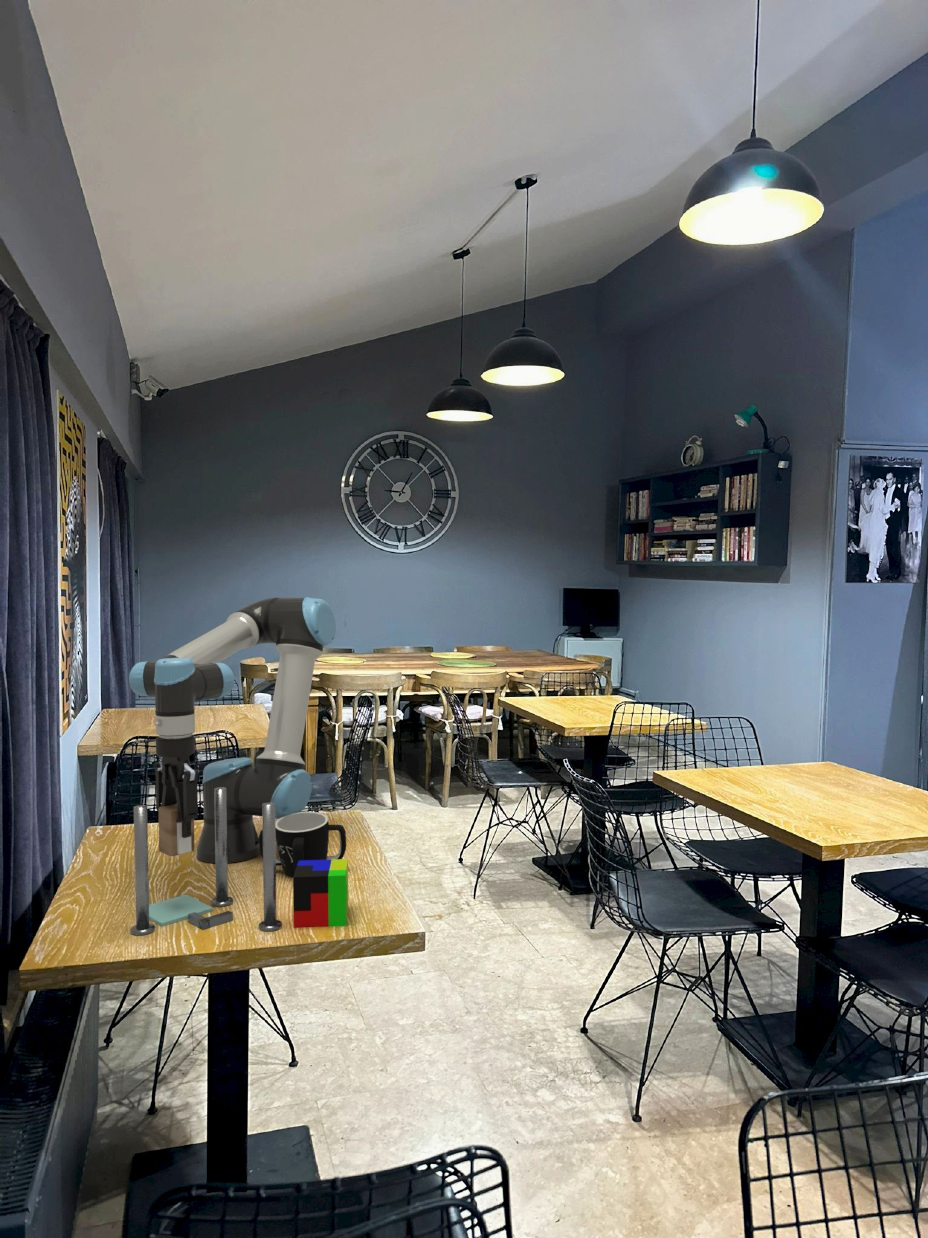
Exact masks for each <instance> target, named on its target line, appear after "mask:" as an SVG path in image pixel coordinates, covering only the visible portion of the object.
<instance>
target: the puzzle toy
mask: <svg viewBox="0 0 928 1238" xmlns="http://www.w3.org/2000/svg"><path fill="white" fill-rule="evenodd" d="M292 884H293V885H292V887H293V888H292V892H293V893H292V895H293V896H292V897H293V900H292V901H293V906H292V907H293V928H294V929H301V928H325V927H327V928H330V927H332V928H333V927H346V926H347V921H348V913H349V908H350V907H349V858H342V859H333V860H300V861H298V864H297V867H296V870H295V873H294V876H293V877H292Z"/></svg>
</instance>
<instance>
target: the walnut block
mask: <svg viewBox="0 0 928 1238" xmlns="http://www.w3.org/2000/svg"><path fill="white" fill-rule="evenodd" d="M158 809H159V810H158V852H159V853H162V854H164V855H166V856H169V857H171V858H172V857H177V856H180V855H182V854H180V855H179V854H177V822H176V820H179V814H178V807H177V803H175V804H172V805H167V806H162V807H158ZM191 849H192V852H195V819H193V820H192V821H191ZM192 852H191V853H192ZM188 853H190V852H188ZM188 853H187V854H188ZM184 854H186V853H184ZM184 854H183V855H184Z"/></svg>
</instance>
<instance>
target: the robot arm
mask: <svg viewBox="0 0 928 1238" xmlns="http://www.w3.org/2000/svg"><path fill="white" fill-rule="evenodd" d="M336 627H337V624H336V617H335V614H334V611H333V609H332V607H331V606H330V604H329V603H328V602H327V601H326V600H324V599H321V598H316V597H315V598H312V597H310V596H309V597H308V596H307V597H269V598H264V599H262V600H259V601H256V602H254V603H251V604H249V605H247V606H244V607H243V608H240V609H239V610H237V611H235V612H232V613H231V614H230V615H229V616H228V617H227V618H226V621H225V622H223V623H222V624H220V625H218V626H217V627H215V628H213V629H211V630H209V631H208V632H206V633H204V634H203V635H201V636H199V637H196V638H195V639H194V640H191V641H190V642H189V643H186V644H185V645H182V646H181V647H179V648H177V649H176V650H173V651H172V652H170V653H169V654H166V655H164V656H163V657H161V658H160V659H158V660H155V661H150V660H148V661H147V660H146V661H139V662H137V663H135V664H134V666H132V668H131V670H130V672H129V676H128V677H129V678H128V682H129V686H130V687H129V688H130V689H131V691H132V692H133V693H134V694H136V695H138V696H141V697H142V696H143V697H148V698H154V702H155V704H154V705H155V706H154V707H155V713H154V714H155V721H154V722H153V723H154V726H155V734H156V736H157V737H156V738H155V754H156V756H157V757H160V758H161V761H158V762H154V764H153V768H154V772H155V809H156V811H158V812H159V809H158V807H162V806H167V805H172V804H177V807H178V814H179V820H176V822H177V854H179V855H178V856H180V854H181V855H184V853H185V854H188V852H189V853H192V849H191V821H192V820H193V819H194V820H195V819H198V817H199V802H198V799H199V798H198V795H199V794H198V780H199V774H200V773H199V770H198V769H193V768H192V767H191V762H190V756H191V755H194V754H195V752H196V736H195V735H194V733H195V732H196V718H195V717H196V714H195V703H197V702H203V701H209V700H217V699H219V698H222V697H225V696H227V695H229V694H230V692H231V691H232V690H233V688H234V684H235V675H234V673H233V670H232V669H231V668H230V667H229V666H228V665H227V664H226V663H224V662H222V661H224V660H225V659H227V658H229V657H231V656H232V655H234V654H235V653H237V652H239V651H241V650H242V649H244V650H245V649H251V648H253V647H254V646H258V645H260V644H275V649H276V651H277V652H278V653H279V655H280V656H279V661H278V668H277V673H276V679H275V684H274V685H275V687H274V691H273V698H272V703H271V709H270V715H269V721H268V727H267V734H266V738H265V744H264V750H263V752H261V754H259V755H258V756H256V759H255V765H253V764H254V762H253V760H252V758H251V757H235V758H234V757H233V758H227V759H223V760H217V761H214V762H210V763H208V764H207V765H206V766H204V768H203V771H202V773H203V774H202V777H203V778H202V782H201V783H202V800H203V801H202V802H203V803H202V807H203V809H202V810H203V827H202V828H201V829H202V830H201V831H200V832H201V833H200V836H199V839H198V842H197V844H196V845H197V847H196V858H197V860H199V861H201V862H204V863H209V864H215V805H214V789H215V788H219V787H225V788H226V800H227V864H231V863H238V862H243V861H247V860H250V859H251V860H252V859H253V858H256V857H257V856H258V855H261V853H260V847H259V834H258V832H257V828H256V826H255V823H254V817H253V816H256V817H262V804H264V803H275V820H278V819H280V818H281V817H284V816H286V815H290V814H293V813H298V812H303V811H304V809H305V808H306V806H307V805H308V803H309V800H310V797H311V795H312V789H313V788H312V787H313V783H312V781H311V780H312V778H311V775H310V774H309V772H308V771H306V770H305V767H306V763H305V761H304V759H303V758H302V757H301V750H302V745H303V741H304V739H303V738H304V733H305V727H306V721H307V713H308V708H309V700H310V696H311V689H312V683H313V682H312V681H313V676H314V675H313V674H314V670H315V663H316V660H317V659H319V657H321V656H323V652H324V647H325V646H328V645H330V644H331V643H332V642H333V640H334V639H335V636H336V631H337V630H336Z"/></svg>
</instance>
